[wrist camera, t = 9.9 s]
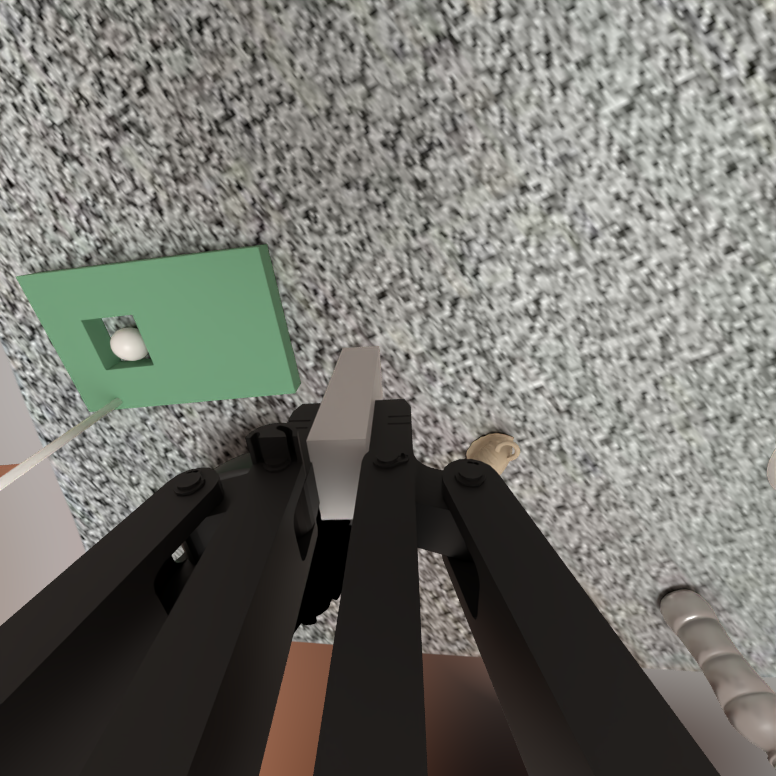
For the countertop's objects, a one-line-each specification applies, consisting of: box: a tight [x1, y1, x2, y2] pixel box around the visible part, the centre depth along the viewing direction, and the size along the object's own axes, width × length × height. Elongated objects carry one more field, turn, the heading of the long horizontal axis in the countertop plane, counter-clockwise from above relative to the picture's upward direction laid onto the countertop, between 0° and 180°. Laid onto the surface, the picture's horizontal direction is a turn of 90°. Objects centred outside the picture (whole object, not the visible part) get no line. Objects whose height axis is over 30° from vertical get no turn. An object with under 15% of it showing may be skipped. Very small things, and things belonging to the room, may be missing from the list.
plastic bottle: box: [660, 589, 776, 770], centre depth 48 cm, size 6×7×20 cm
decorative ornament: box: [466, 433, 520, 475], centre depth 43 cm, size 4×8×5 cm, turn 150°
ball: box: [110, 327, 149, 361], centre depth 39 cm, size 4×4×4 cm
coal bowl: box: [214, 453, 353, 635], centre depth 40 cm, size 20×20×19 cm
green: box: [0, 244, 301, 491], centre depth 32 cm, size 15×24×16 cm, turn 97°
